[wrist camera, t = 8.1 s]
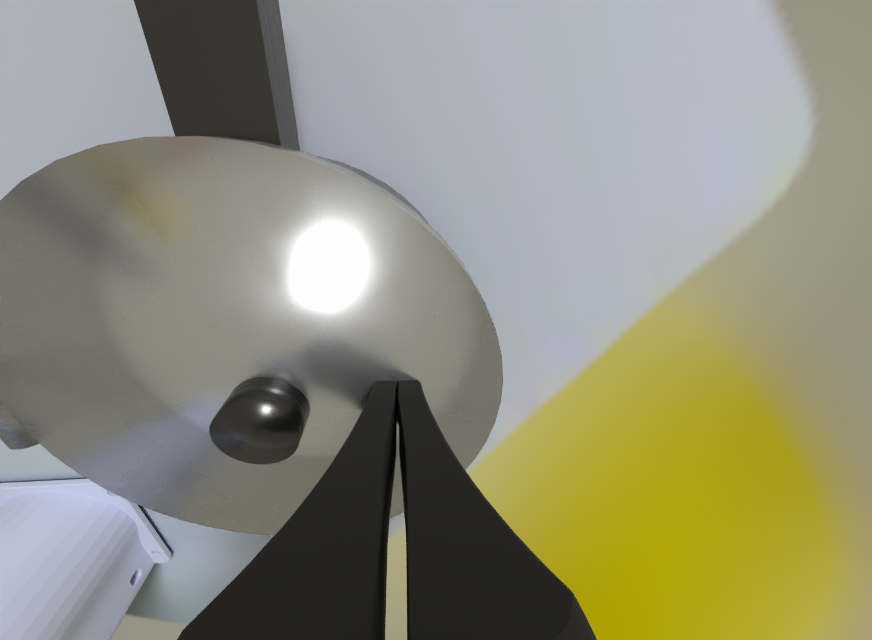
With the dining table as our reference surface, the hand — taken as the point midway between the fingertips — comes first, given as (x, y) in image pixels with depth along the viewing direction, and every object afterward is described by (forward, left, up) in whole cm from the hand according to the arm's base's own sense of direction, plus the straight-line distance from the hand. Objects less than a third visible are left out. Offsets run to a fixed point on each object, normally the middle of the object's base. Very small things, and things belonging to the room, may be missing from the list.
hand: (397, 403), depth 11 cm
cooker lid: (0, +5, -1) cm, 5 cm away
